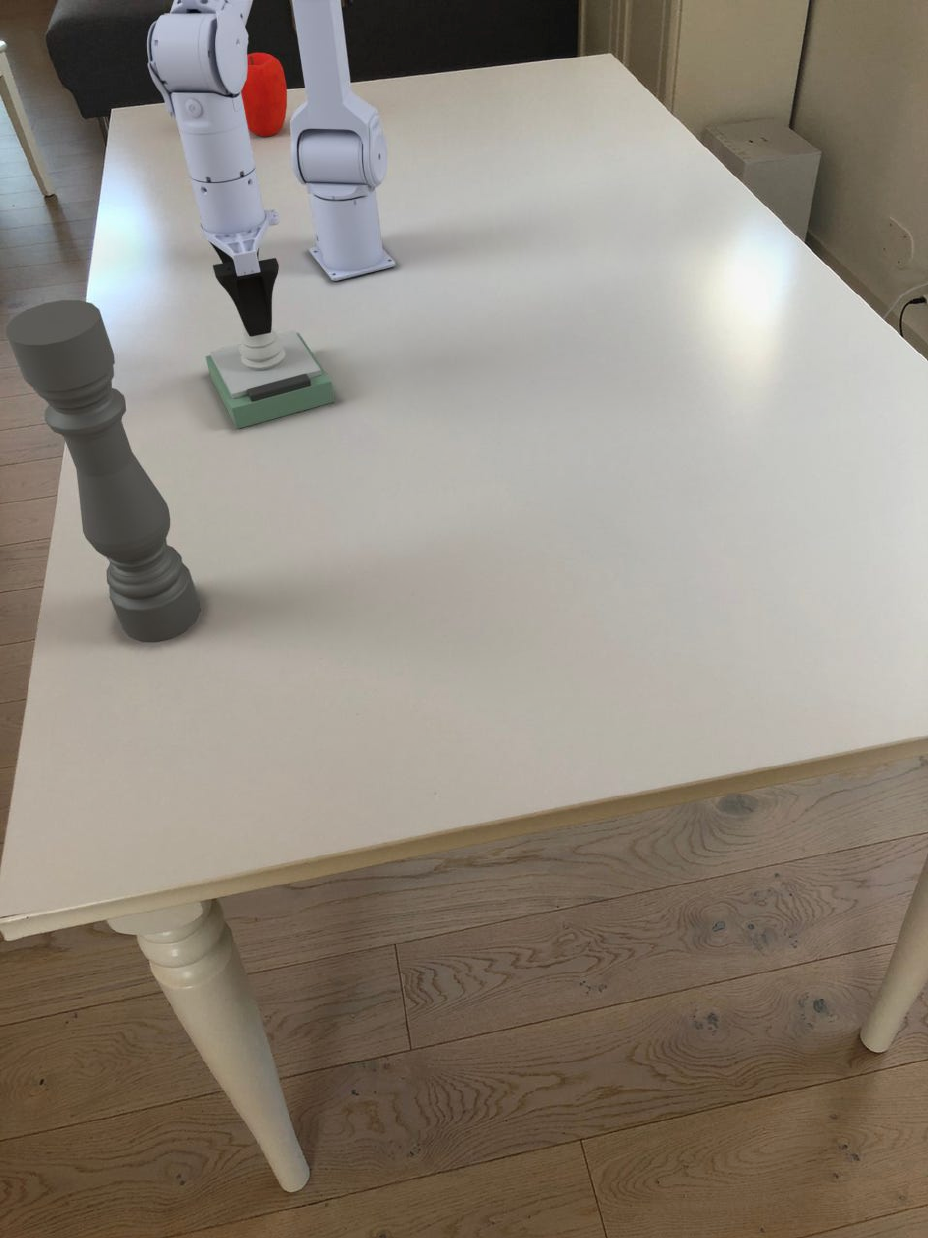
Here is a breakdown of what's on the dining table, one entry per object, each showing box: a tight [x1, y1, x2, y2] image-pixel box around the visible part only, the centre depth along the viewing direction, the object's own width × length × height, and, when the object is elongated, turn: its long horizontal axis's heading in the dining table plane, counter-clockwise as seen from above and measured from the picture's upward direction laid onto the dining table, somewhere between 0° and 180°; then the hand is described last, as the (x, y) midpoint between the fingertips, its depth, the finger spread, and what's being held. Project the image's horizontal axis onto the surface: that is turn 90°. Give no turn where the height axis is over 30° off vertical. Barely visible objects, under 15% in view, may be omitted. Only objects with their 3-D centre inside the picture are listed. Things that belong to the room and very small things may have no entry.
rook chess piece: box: [240, 324, 285, 370], centre depth 98 cm, size 4×4×8 cm
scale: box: [204, 329, 335, 430], centre depth 101 cm, size 11×10×3 cm
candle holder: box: [5, 299, 201, 643], centre depth 71 cm, size 6×6×25 cm
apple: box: [241, 52, 288, 138], centre depth 153 cm, size 9×9×11 cm
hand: (254, 314), depth 97 cm, fingers open, 7 cm apart
